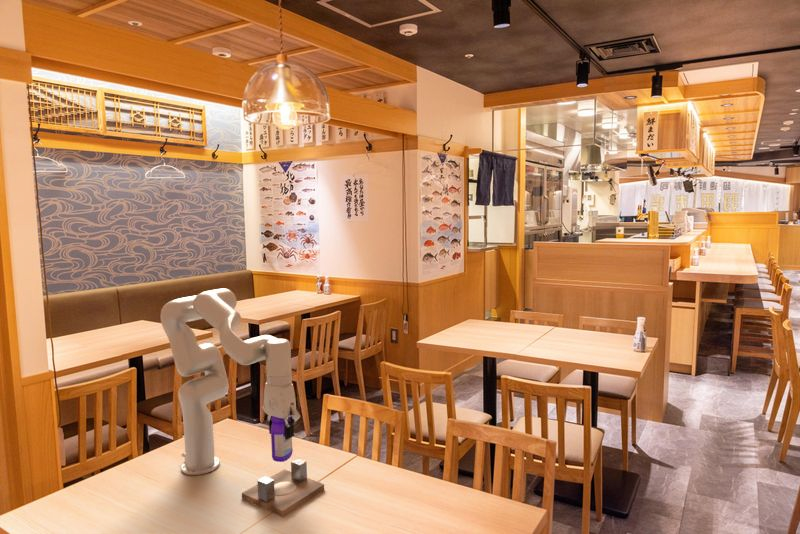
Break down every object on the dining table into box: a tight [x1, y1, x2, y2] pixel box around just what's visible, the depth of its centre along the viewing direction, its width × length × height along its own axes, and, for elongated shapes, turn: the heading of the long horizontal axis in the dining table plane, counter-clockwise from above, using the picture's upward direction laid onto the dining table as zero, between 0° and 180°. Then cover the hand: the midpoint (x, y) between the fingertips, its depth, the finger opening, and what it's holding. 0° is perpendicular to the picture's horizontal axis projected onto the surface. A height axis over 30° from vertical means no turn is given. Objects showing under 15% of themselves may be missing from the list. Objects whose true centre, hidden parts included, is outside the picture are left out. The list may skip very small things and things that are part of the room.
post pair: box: [256, 458, 308, 503], centre depth 169 cm, size 4×17×6 cm, turn 146°
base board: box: [241, 468, 325, 518], centre depth 170 cm, size 18×18×2 cm
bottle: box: [270, 416, 294, 463], centre depth 167 cm, size 7×6×17 cm
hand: (281, 434), depth 168 cm, fingers closed on bottle, 6 cm apart
